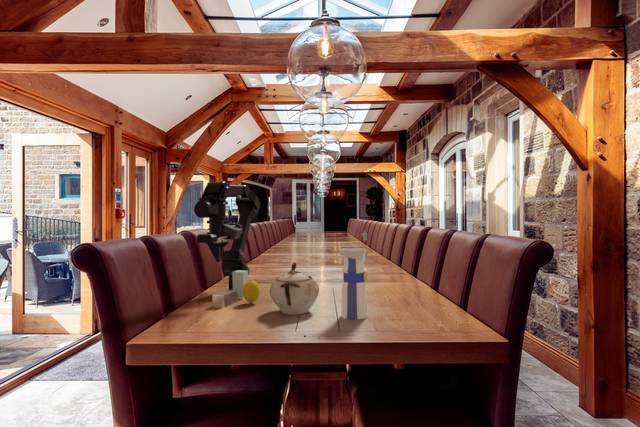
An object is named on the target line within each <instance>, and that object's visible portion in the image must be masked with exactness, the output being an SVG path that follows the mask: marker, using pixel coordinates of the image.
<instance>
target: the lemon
mask: <svg viewBox="0 0 640 427" xmlns="http://www.w3.org/2000/svg"><path fill="white" fill-rule="evenodd" d="M260 293H261V290H260V285H259V283H258V282H257V281H255V280H253V279H249V280H248V282H246V283H245V285H244V287H243V296H244V298H245V299H244V300H245V301H247V302H249V303H250V304H254V303H255V302H256V301H257V300H258V299H259V297H260Z"/></svg>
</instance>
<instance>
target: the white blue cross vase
mask: <svg viewBox="0 0 640 427" xmlns="http://www.w3.org/2000/svg"><path fill="white" fill-rule="evenodd" d="M368 235H369V233H367V232H366V230H365V229H363V233H361V236H362V237H363V240H362V242H366V241H368V237H367V236H368ZM339 256H342V257H343V267H342V268H341V271H342V275H343V277H342V283H341V284H342V285H341V316H340V317H341V319H342V318H343V319H346V320H363V319H367V318H368V317H369V313H368V298H367V297H368V291H367V288H368V287H367V282H368V271H367V268H366V267H365V260H367V258H368V256H369V254H368V250H367V249H366V248H362V247H360V248H358V247H346V248H344V247H343V248H341V249H340V252H339Z"/></svg>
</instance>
